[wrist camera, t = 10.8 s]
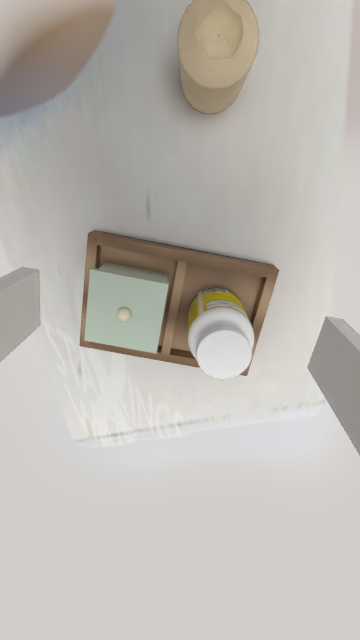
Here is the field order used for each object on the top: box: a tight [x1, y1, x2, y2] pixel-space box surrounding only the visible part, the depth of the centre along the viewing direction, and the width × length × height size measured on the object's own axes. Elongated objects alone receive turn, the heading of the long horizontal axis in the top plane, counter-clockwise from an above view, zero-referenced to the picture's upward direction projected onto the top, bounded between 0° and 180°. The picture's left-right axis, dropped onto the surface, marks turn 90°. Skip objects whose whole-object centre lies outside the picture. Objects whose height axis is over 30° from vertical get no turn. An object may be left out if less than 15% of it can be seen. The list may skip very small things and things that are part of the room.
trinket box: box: [84, 262, 169, 354], centre depth 34 cm, size 8×8×6 cm
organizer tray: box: [80, 231, 279, 376], centre depth 37 cm, size 13×20×2 cm, turn 79°
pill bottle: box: [188, 286, 254, 379], centre depth 32 cm, size 6×6×11 cm
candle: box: [178, 0, 259, 114], centre depth 25 cm, size 6×6×10 cm
